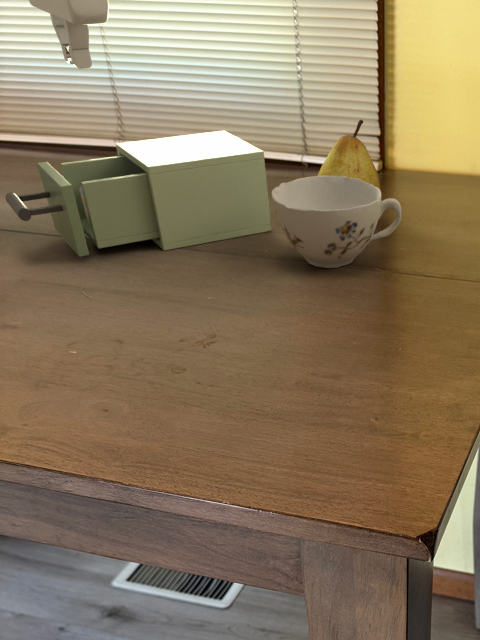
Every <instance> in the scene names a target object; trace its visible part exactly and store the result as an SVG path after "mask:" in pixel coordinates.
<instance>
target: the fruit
mask: <svg viewBox="0 0 480 640" xmlns="http://www.w3.org/2000/svg"><path fill="white" fill-rule="evenodd" d="M363 124H364V121H363V119H359V120H358V122H357V125H356V128H355V130H354V133H353V135H351V134H346V135H345V134H344V135H342V136H341V137H339V138H338V139H337V141H336V142H335V143H334V145H333V146H332V148H331V149H330V151H329V153H328V154H327V156H326V158H325V160H324V162H323V163H322V165H321V167H320V169H319V171H318V173H317V176H325V175H326V176H346V177H348V178H358V179H360V180H362V181H364V182H367V183H369V184H372V185H373V186H374V187H377V188H379V189H380V190H381V183H380V177H379V174H378V171H377V168H376V166H375V164H374V162H373V159H372V158H371V155H370V153H369V151H368V148H367V147H366V145H365V144H364V142H362V140H360V139H359V138H358V137H357V135H358V133H359V131H360V129H361V127H362V125H363Z"/></svg>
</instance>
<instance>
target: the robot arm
mask: <svg viewBox="0 0 480 640" xmlns="http://www.w3.org/2000/svg"><path fill="white" fill-rule="evenodd" d="M28 1H29V4H30V5H31V6H32V7H34V8H36V9H39V10H41V11H43V12H46V13H48V14H49V15H50V20H51V23H52V27H53V29H54V32H55V34H56V36H57V40H58V41H59V43H60V45H61V46H60V47H61V51H62V55H63V59H64V61H65V62H67V63H68V64H71V65H73V66H74V67H75V68H78V69H79V70H80V69H81V70H82V69H90V68H91V67H92V66H93V61H92V57H91V53H90V30H89V26H90V25H101V24H106V23H108V20H109V8H110V7H109V0H28Z"/></svg>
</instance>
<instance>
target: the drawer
mask: <svg viewBox="0 0 480 640" xmlns="http://www.w3.org/2000/svg"><path fill="white" fill-rule="evenodd" d="M36 164H37V168H38V172H39V176H40V179H41V183H42V186H43V191H40V192H33V193H25V194H18V195H17V194H16V193H15V192H11V191H9V192H7V193H6V194H5V198H4V199H5V201H6V203H7V204H8V206H10V208H11V209H12V210H13V212H14V213H15V214H16V216H17V217H18V218H19V219H20V220H21V221H24V222H28V221H30V220H31V219H32V216H39V215H46V214H51V219H52V221H53V222H52V223H53V226H54V229H55V230H56V232H57V233H58V234H59V235H60V236H61V238H62V239H63V240H64V241H65V242H66V243H67V244H68V246H70V248H71V249H72V250H73V251H74V252H75V254H76V255H77V256H78V257H80V258H81V257H86V256H90V251H89V247H88V244H87V239H86V237H87V238H88V239H89V240H90V241H91V242H92V243H93V244H94V245H95V247H96V248H97V249H103V248H110V247H115V246H120V245H126V244H131V243H136V242H137V243H138V242H143V241H148V240H152V239H154V238H160V235H159V230H158V225H157V220H156V215H155V210H154V204H153V199H152V194H151V189H150V184H149V179H148V173H147V172H146V171H144V170H143V169H142V168H140V167H139V166H138V165H136V164H135V163H134V162H132V161H131V160H130V159H128V158H127V157H125V156H124V155H121V156H118V155H115V156H114V155H113V156H105V157H98V158H91V159H83V160H82V159H81V160H75V161H68V162H60V168H61V172H62V175H61V173H59V172H58V170H56V169H55V168H54V167H53V166H52V165H51V163H49V162H48V161H42V162H36ZM81 186H82V190H83V194H84V198H85V202H86V206H87V210H88V214H89V218H90V222H91V225H90V224H89V223H88V222H87V218H86V214H85V210H84V206H83V203H82V199H81V195H80V191H79V188H80V187H81ZM42 199H46V201H47V204H48V205H47V206H41V207H34V208H28V207H27V206H26V204H25V203H24V202H29V201H35V200H42Z"/></svg>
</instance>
